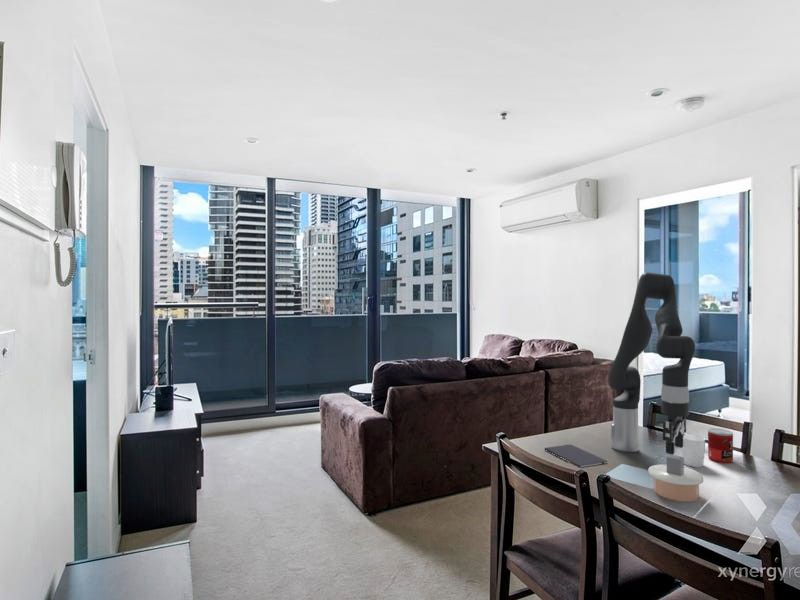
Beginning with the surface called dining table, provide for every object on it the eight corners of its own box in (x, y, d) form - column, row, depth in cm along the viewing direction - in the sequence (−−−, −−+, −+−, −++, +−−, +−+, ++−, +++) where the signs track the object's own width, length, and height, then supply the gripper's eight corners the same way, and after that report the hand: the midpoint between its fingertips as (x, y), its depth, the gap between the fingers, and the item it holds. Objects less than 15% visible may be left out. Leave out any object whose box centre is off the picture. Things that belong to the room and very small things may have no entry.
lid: (640, 475, 150) (640, 457, 150) (658, 463, 160) (658, 446, 160) (694, 489, 139) (694, 470, 138) (709, 475, 149) (709, 457, 149)
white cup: (709, 468, 170) (709, 441, 170) (685, 467, 172) (685, 439, 172) (700, 461, 178) (699, 434, 178) (677, 459, 179) (676, 433, 179)
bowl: (648, 494, 149) (648, 475, 149) (661, 483, 158) (661, 465, 158) (691, 506, 141) (691, 486, 141) (702, 494, 149) (702, 475, 149)
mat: (603, 476, 164) (603, 475, 164) (621, 464, 175) (621, 463, 175) (652, 490, 152) (652, 489, 152) (669, 476, 163) (669, 475, 163)
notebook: (544, 451, 192) (580, 470, 172) (544, 447, 192) (579, 465, 172) (570, 447, 196) (608, 465, 176) (570, 444, 196) (608, 461, 176)
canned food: (725, 465, 173) (725, 435, 173) (703, 458, 180) (703, 429, 180) (737, 461, 177) (737, 432, 177) (715, 455, 184) (715, 427, 184)
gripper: (669, 393, 156) (669, 442, 157) (653, 401, 147) (653, 452, 147) (695, 397, 151) (695, 447, 151) (680, 405, 141) (680, 459, 142)
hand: (674, 450), depth 149 cm, fingers open, 8 cm apart
